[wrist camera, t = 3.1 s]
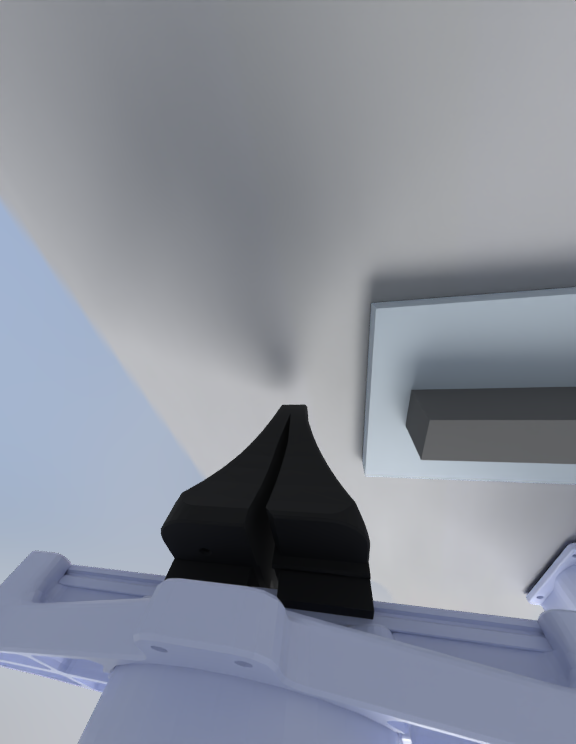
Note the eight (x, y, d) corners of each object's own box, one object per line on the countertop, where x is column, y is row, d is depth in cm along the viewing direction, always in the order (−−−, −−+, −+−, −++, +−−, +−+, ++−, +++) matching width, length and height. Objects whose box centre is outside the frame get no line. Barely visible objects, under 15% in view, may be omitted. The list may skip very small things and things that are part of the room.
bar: (574, 426, 12) (628, 465, 10) (405, 425, 13) (421, 460, 11) (598, 385, 11) (665, 420, 9) (411, 389, 12) (429, 420, 10)
